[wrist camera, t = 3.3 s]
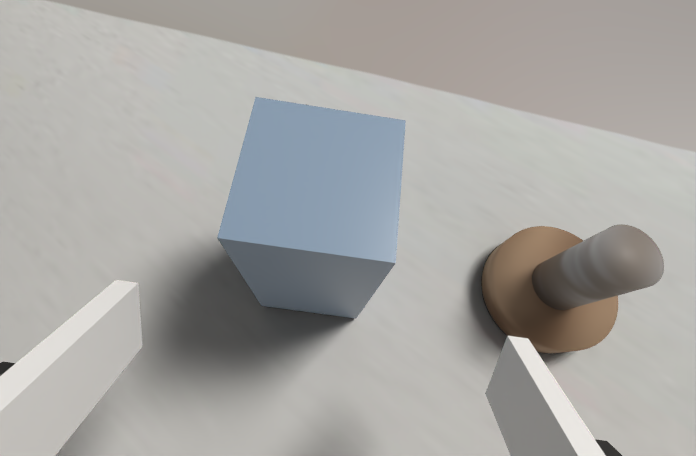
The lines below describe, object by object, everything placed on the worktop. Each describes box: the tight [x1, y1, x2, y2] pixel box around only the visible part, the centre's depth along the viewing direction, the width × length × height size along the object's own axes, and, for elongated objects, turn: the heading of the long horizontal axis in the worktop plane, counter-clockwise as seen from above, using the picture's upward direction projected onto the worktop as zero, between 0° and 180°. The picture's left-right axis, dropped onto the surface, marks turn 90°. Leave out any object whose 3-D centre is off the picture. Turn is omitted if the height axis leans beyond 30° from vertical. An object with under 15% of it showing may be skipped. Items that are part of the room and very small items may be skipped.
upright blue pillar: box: [217, 97, 405, 318], centre depth 19 cm, size 6×6×12 cm
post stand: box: [482, 225, 664, 353], centre depth 22 cm, size 8×8×8 cm
